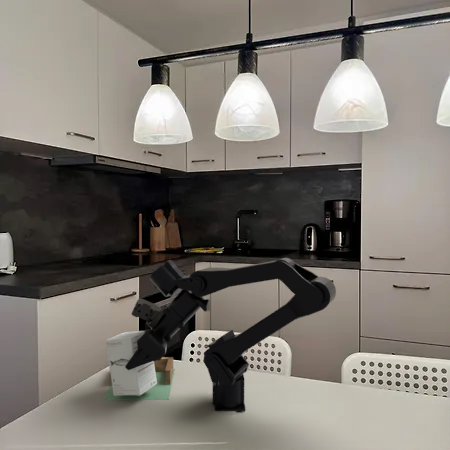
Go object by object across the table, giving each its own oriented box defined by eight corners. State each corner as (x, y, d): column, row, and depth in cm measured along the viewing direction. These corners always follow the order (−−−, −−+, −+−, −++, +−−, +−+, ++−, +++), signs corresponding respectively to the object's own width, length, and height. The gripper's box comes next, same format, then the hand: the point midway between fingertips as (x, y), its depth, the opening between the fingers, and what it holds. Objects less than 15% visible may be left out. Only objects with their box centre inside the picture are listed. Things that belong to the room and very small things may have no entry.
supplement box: (112, 396, 94) (103, 340, 95) (132, 384, 101) (124, 331, 101) (139, 396, 91) (130, 337, 92) (158, 383, 98) (149, 329, 98)
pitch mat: (174, 370, 113) (174, 368, 112) (168, 400, 95) (168, 399, 95) (119, 370, 112) (119, 369, 112) (103, 401, 94) (102, 400, 94)
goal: (173, 370, 112) (173, 357, 111) (170, 384, 102) (170, 370, 102) (118, 370, 111) (118, 357, 111) (110, 385, 102) (110, 371, 102)
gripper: (157, 280, 105) (113, 325, 105) (148, 295, 86) (93, 350, 86) (189, 311, 106) (145, 355, 105) (187, 333, 87) (133, 387, 87)
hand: (130, 360), depth 96 cm, fingers closed on supplement box, 9 cm apart
